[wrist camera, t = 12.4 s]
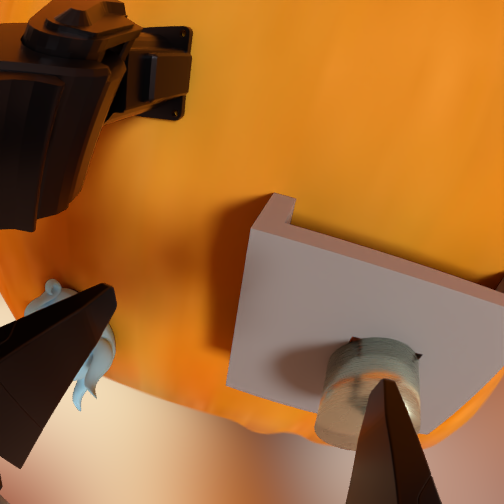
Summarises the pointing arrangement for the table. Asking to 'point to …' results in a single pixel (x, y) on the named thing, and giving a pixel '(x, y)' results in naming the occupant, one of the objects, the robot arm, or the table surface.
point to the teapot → (99, 356)
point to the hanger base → (355, 317)
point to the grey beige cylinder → (364, 386)
